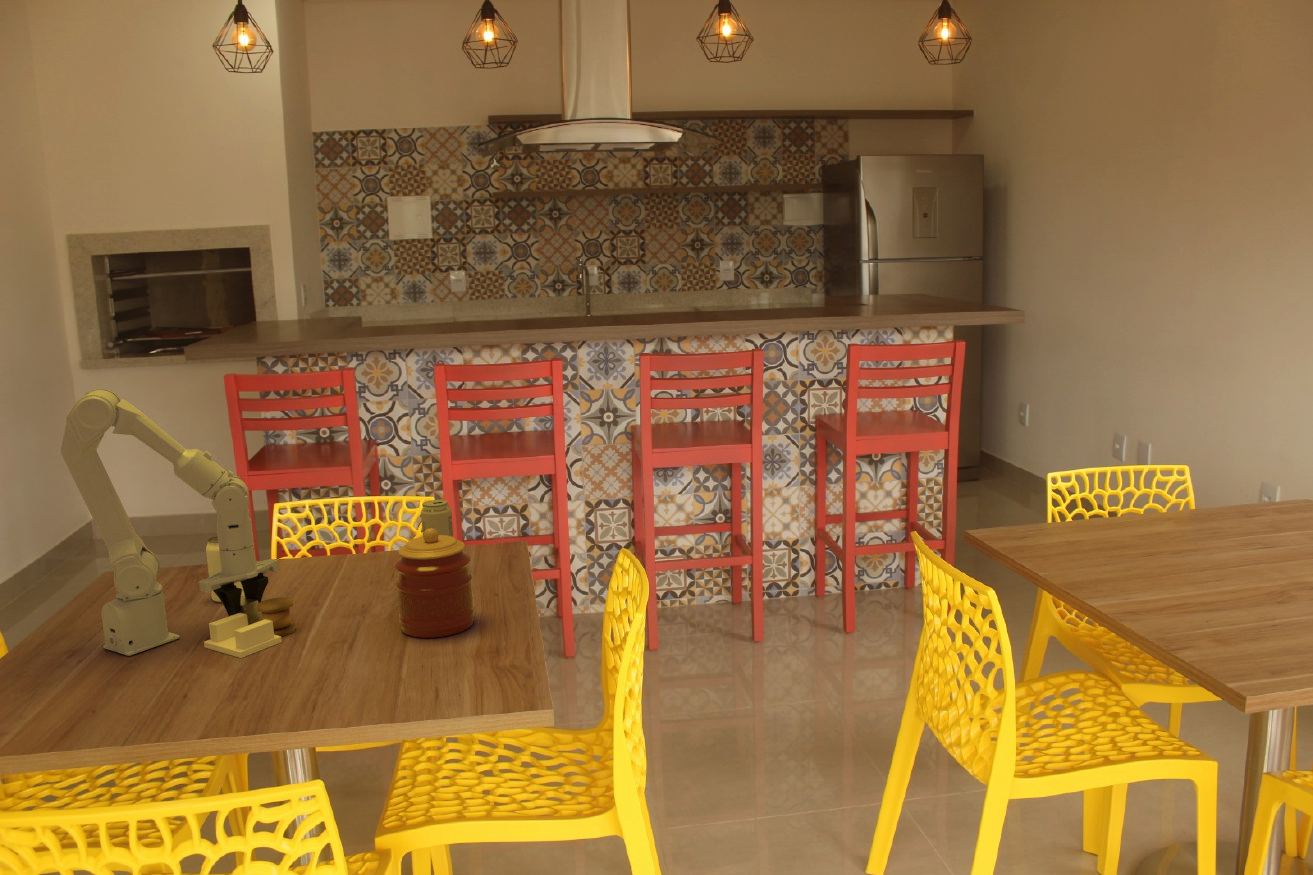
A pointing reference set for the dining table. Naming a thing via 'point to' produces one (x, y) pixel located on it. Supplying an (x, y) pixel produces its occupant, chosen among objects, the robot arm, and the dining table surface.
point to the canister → (434, 586)
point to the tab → (250, 609)
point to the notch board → (241, 636)
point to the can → (216, 564)
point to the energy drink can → (437, 517)
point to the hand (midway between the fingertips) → (244, 620)
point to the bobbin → (278, 615)
